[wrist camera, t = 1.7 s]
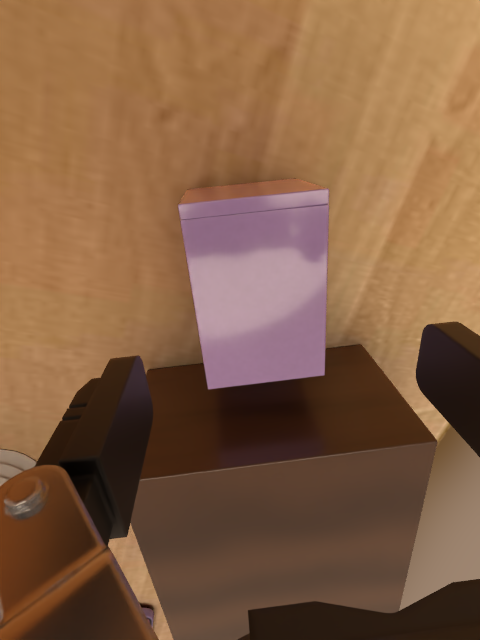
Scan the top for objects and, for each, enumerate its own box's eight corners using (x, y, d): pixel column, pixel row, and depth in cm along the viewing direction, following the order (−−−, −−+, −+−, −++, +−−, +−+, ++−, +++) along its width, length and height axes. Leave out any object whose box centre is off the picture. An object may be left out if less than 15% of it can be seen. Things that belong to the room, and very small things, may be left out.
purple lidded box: (186, 189, 19) (177, 204, 13) (295, 178, 19) (329, 188, 13) (208, 333, 23) (207, 390, 17) (297, 322, 23) (324, 375, 17)
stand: (147, 369, 24) (115, 482, 15) (361, 344, 24) (438, 441, 16) (188, 531, 32) (181, 660, 24) (348, 509, 32) (395, 629, 24)
